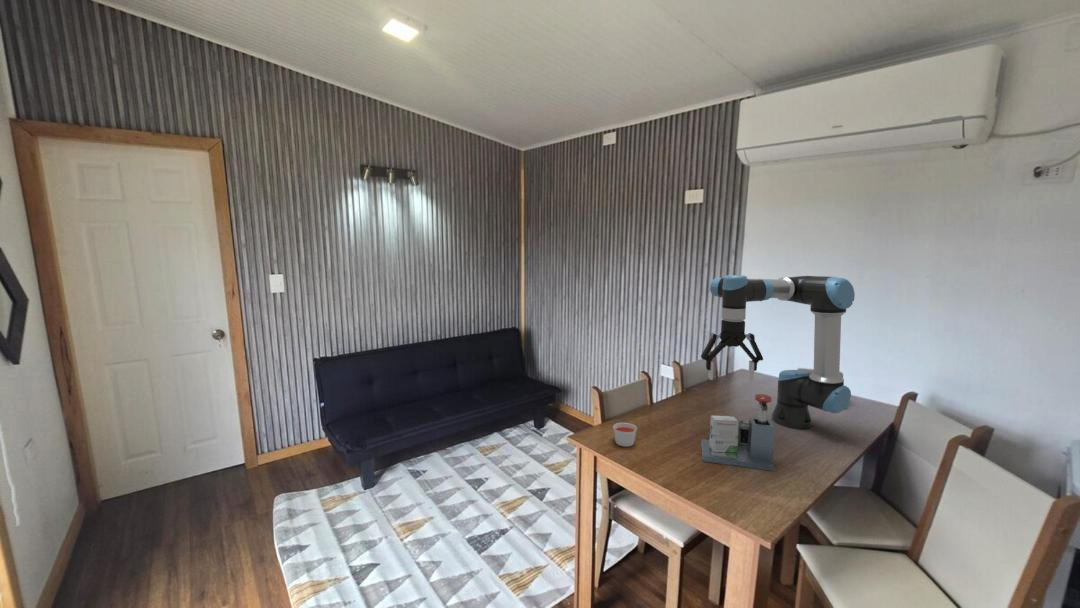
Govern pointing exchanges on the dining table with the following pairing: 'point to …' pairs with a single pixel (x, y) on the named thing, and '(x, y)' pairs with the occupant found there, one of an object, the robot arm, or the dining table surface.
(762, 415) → the plunger
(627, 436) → the candle
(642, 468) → the dining table surface
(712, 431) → the ink box
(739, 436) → the camera
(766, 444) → the press
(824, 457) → the dining table surface
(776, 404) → the robot arm
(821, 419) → the dining table surface
